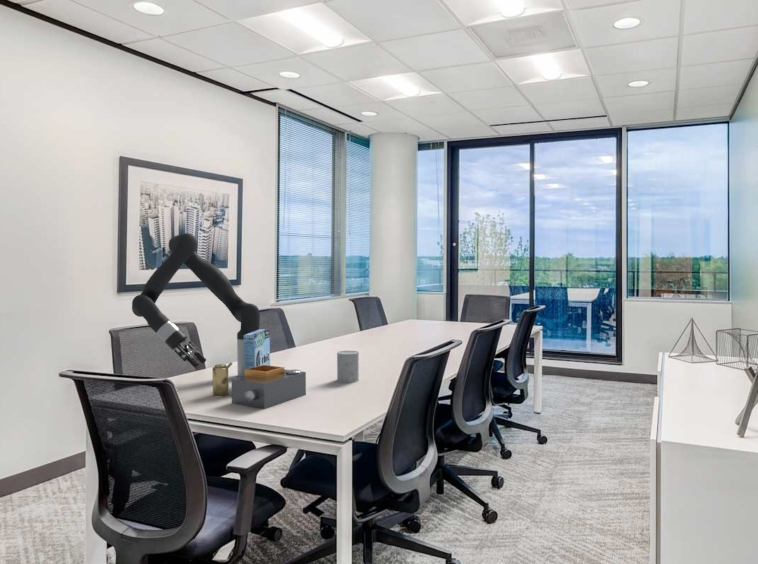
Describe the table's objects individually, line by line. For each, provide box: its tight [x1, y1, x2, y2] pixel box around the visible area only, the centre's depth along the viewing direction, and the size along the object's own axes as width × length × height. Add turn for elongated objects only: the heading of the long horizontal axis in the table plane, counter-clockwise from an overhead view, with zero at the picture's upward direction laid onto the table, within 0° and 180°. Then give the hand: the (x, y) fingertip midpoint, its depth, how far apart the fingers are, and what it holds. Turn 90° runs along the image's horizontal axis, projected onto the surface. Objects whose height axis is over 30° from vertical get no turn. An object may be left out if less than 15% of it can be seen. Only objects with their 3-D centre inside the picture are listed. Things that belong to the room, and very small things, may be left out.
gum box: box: [244, 328, 271, 376], centre depth 237 cm, size 20×5×23 cm, turn 172°
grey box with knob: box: [231, 364, 307, 410], centre depth 215 cm, size 27×16×12 cm, turn 150°
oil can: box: [212, 362, 233, 397], centre depth 222 cm, size 8×6×13 cm
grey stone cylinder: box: [336, 350, 360, 384], centre depth 248 cm, size 10×10×12 cm
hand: (201, 364), depth 222 cm, fingers open, 8 cm apart
